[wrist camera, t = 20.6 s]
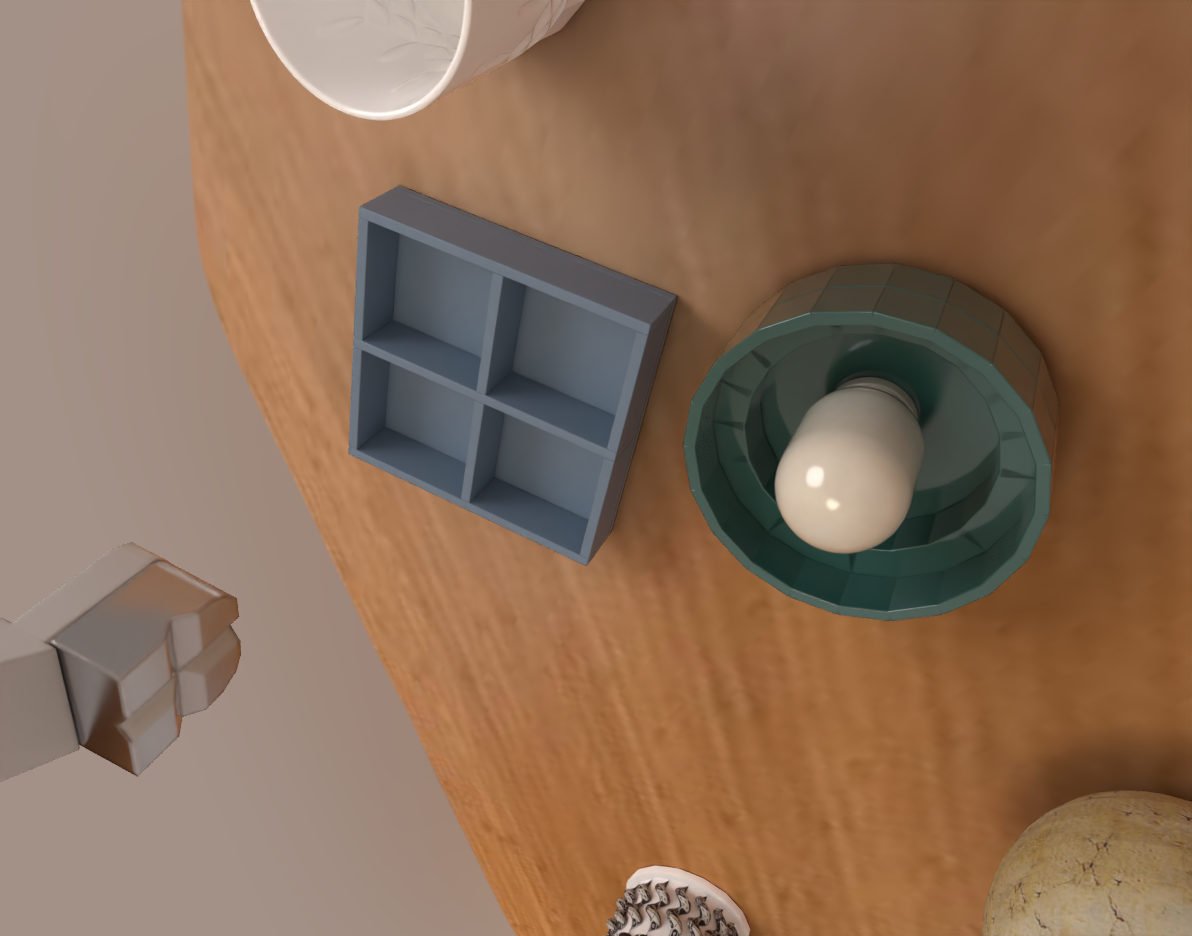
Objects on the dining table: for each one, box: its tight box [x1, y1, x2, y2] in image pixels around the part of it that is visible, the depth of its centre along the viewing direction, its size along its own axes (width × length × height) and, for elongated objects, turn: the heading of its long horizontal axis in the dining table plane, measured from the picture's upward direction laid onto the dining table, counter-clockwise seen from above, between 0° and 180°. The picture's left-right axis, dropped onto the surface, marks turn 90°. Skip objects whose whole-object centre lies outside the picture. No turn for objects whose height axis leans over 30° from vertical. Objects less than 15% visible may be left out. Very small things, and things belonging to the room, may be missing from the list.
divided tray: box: [349, 186, 677, 566], centre depth 45 cm, size 14×14×3 cm
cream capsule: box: [774, 377, 925, 554], centre depth 36 cm, size 5×5×8 cm
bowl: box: [683, 263, 1059, 621], centre depth 37 cm, size 13×13×5 cm
